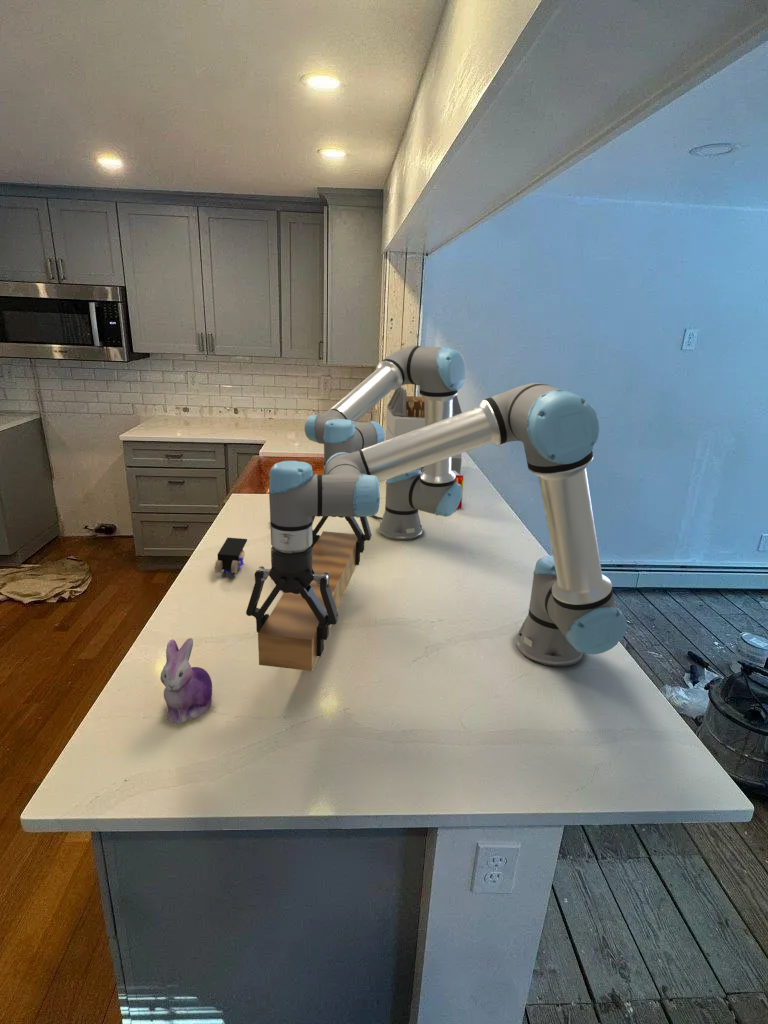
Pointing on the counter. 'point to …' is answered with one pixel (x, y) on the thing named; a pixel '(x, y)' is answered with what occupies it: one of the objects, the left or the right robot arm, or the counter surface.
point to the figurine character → (230, 556)
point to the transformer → (413, 418)
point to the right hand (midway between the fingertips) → (292, 649)
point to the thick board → (307, 607)
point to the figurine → (184, 684)
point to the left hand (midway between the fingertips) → (337, 561)
